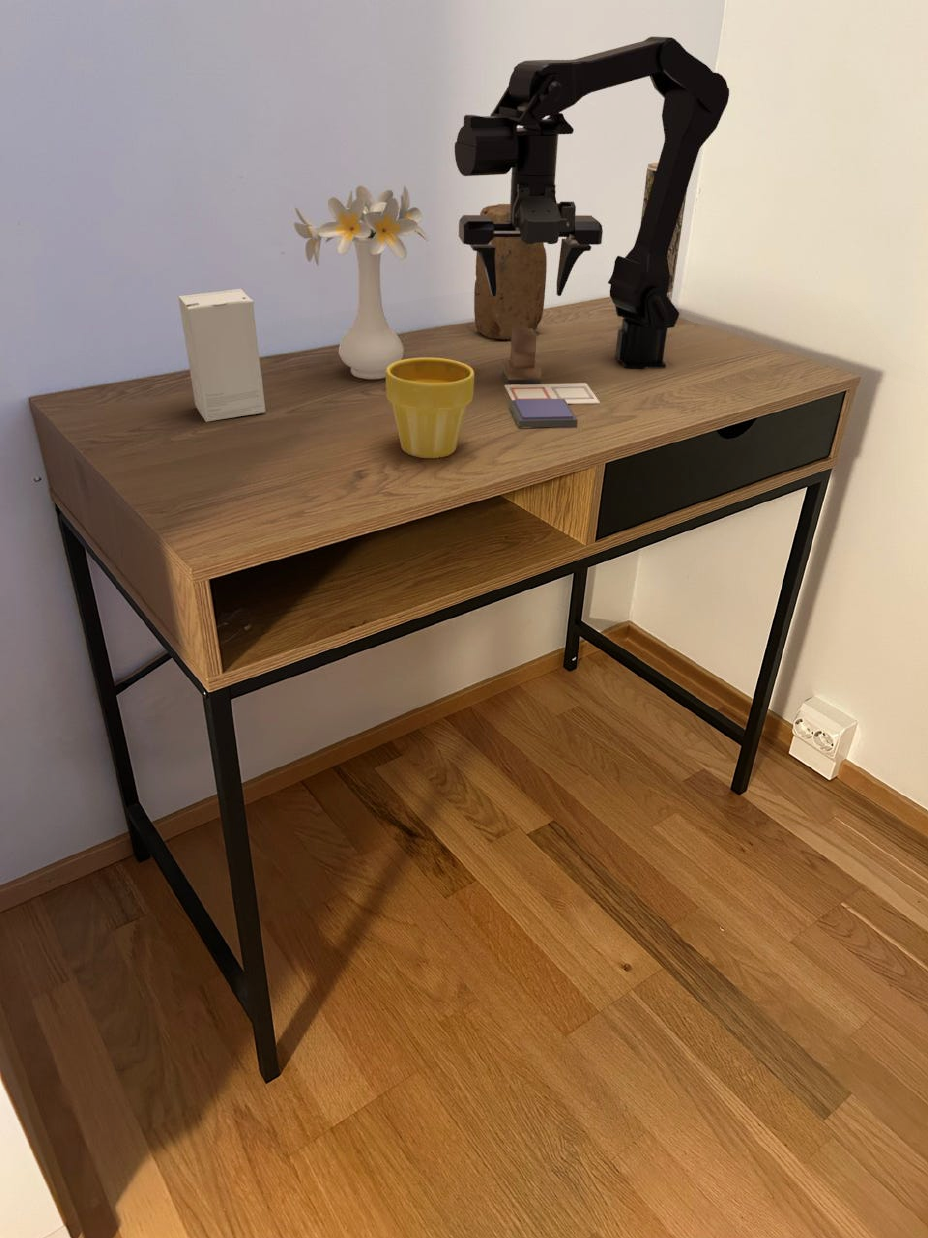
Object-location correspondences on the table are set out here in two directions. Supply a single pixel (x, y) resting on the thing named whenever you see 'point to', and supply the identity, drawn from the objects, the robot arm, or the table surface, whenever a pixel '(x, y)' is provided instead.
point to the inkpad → (542, 413)
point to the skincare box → (223, 353)
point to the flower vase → (367, 270)
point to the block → (510, 283)
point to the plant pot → (429, 403)
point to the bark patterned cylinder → (677, 233)
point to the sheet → (554, 392)
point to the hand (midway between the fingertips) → (526, 295)
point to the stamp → (522, 359)
